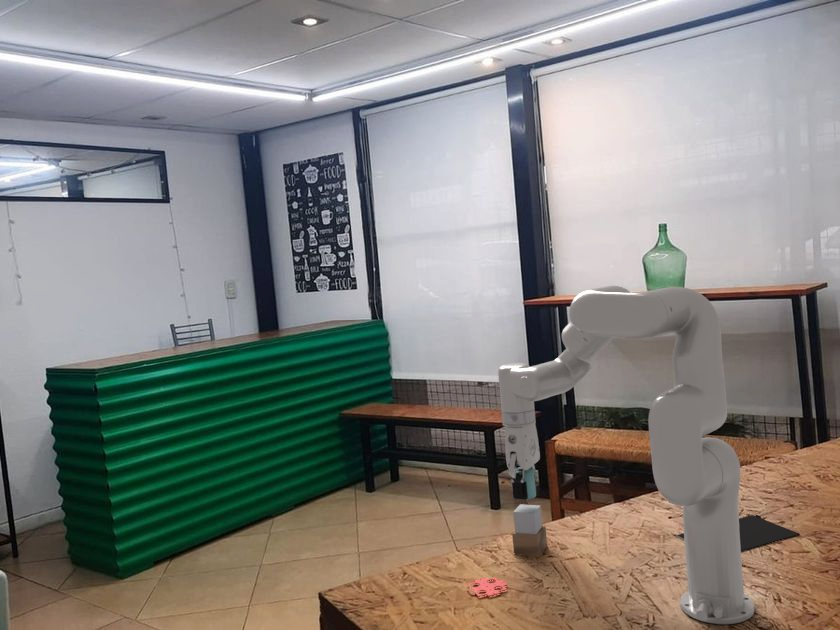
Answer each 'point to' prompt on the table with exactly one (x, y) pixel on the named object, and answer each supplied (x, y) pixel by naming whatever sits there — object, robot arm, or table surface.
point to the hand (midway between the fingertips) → (525, 493)
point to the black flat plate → (758, 532)
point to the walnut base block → (530, 543)
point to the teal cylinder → (530, 482)
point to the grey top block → (527, 519)
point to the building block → (488, 586)
